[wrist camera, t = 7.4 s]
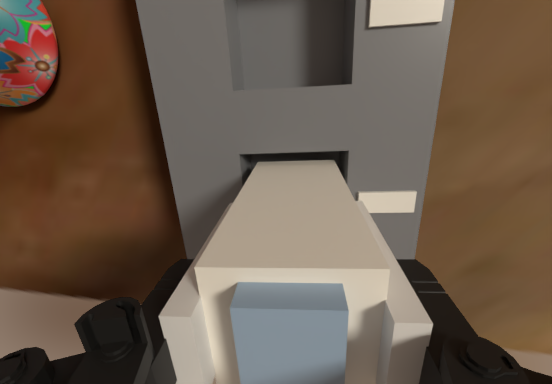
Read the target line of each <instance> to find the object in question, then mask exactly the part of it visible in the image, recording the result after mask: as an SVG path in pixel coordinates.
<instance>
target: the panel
mask: <svg viewBox="0 0 552 384" xmlns="http://www.w3.org/2000/svg"><path fill="white" fill-rule="evenodd" d="M454 1H455V0H136V5H137V10H138V15H139V20H140V25H141V30H142V35H143V40H144V45H145V50H146V55H147V60H148V65H149V70H150V75H151V80H152V85H153V90H154V95H155V100H156V105H157V110H158V115H159V120H160V125H161V130H162V135H163V140H164V145H165V150H166V155H167V160H168V165H169V170H170V175H171V180H172V185H173V190H174V195H175V200H176V205H177V210H178V215H179V220H180V225H181V230H182V235H183V240H184V245H185V250H186V255H187V259H195V257H196V256H197V254H198V253H199V251H200V250H201V248H202V246H203V245H204V243H205V242H206V240H207V238H208V237H209V235H210V234H211V232H212V231H213V229H214V227H215V226H216V224H217V223H218V221H219V219H220V218H221V216H222V215H223V213H224V212H225V210H226V208H227V207H228V205H229V204H230V203H233V202H234V201H235V199H236V197H237V196H238V194H239V192H240V191H241V189H242V187H243V186H244V184H245V182H246V181H247V179H248V177H249V176H250V174H251V172H252V171H253V169H254V167H255V166H256V164H257V162H274V161H308V160H334V161H335V163H336V165H337V166H338V168H339V170H340V172H341V174H342V176H343V178H344V180H345V182H346V184H347V186H348V188H349V190H350V192H351V194H352V196H353V198H354V200H355V201H363V203H364V205H365V207H366V208H367V210H368V212H369V214H370V215H371V217H372V219H373V220H374V222H375V224H376V226H377V227H378V229H379V231H380V233H381V234H382V236H383V238H384V240H385V241H386V243H387V245H388V246H389V248H390V250H391V252H392V253H393V255H394V257H395V259H414V258H415V252H416V245H417V239H418V233H419V226H420V220H421V213H422V207H423V200H424V194H425V188H426V181H427V175H428V168H429V162H430V156H431V149H432V143H433V136H434V130H435V123H436V117H437V111H438V104H439V98H440V91H441V85H442V78H443V72H444V66H445V59H446V53H447V46H448V40H449V33H450V27H451V21H452V14H453V8H454Z"/></svg>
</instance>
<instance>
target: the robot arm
mask: <svg viewBox="0 0 552 384" xmlns="http://www.w3.org/2000/svg"><path fill="white" fill-rule="evenodd" d="M356 203H357V205H358V207H359V209H360V211H361V213H362V215H363V217H364V219H365V221H366V223H367V225H368V227H369V229H370V231H371V233H372V234H373V236H374V238H375V240H376V242H377V244H378V246H379V248H380V250H381V252H382V254H383V256H384V258H385V260H386V262H387V264H388V266H389V268H390V276H389V284H388V293H387V300H385V307H384V315H383V324H382V332H381V341H380V349H379V358H378V366H377V375H376V384H552V377H551V376H548V375H544V374H541V373H537V372H534V371H531V370H528V369H526V368H523V367H521V366H520V365H519V364H518V363H517V361H516V360H515V359H514V358H513V357H512V356H511V355H510V354H508V353H507V352H506V351H505V350H504V349H502V348H501V347H500V346H498V345H496V344H494V343H492V342H490V341H489V340H487V339H485V338H481V337H478V335H477V334H476V333H475V331H474V330H473V328H472V327H471V326H470V324H469V323H468V322H467V320H466V319H465V318H464V316H463V315H462V313H461V312H460V311H459V309H458V308H457V307H456V305H455V304H454V303H453V301H452V300H451V298H450V297H449V296H448V294H446V293H445V290H444V289H443V288H442V286H441V285H440V284H438V281H437V279H436V278H435V277H434V275H433V274H432V272H431V271H430V270H429V269H428V268H427V267H425V266H424V265H422V264H421V263H420V262H418V261H417V260H415V259H395V257H394V255H393V253H392V252H391V250H390V248H389V246H388V245H387V243H386V241H385V240H384V238H383V236H382V234H381V233H380V231H379V229H378V227H377V226H376V224H375V222H374V220H373V219H372V217H371V215H370V214H369V212H368V210H367V208H366V207H365V205H364V203H363V201H356ZM232 204H233V203H230V204H229V205H228V207H227V208H226V210H225V212H224V213H223V215H222V216H221V218H220V219H219V221H218V223H217V224H216V226H215V227H214V229H213V231H212V232H211V234H210V235H209V237H208V238H207V240H206V242H205V243H204V245H203V246H202V248H201V250H200V251H199V253H198V254H197V256H196V257H195V259H181V260H179V261H178V262H176V263H175V264H174V265H172V266H171V267H170V268H169V269H168V270H167V271H166V273H165V274H164V275H163V277H162V278H161V281H159V282H158V283H157V285H156V286H155V287H154V290H152V291H151V293H150V294H149V295H148V297H147V298H146V300H145V301H144V302H143V304H142V305H140V303H139V301H138V300H136V299H133V298H131V297H120V298H115V299H111V300H108V301H105V302H103V303H101V304H99V305H97V306H95V307H93V308H92V309H90V310H89V311H87V312H86V313H85V314H83V315H82V316H81V317H80V318H79V319H78V321H77V322H76V323H75V327H76V329H77V332H78V334H79V337H80V339H81V342H82V344H83V346H84V349H85V351H86V352H85V353H82V354H78V355H74V356H70V357H65V358H62V359H57V360H53V361H49V359H48V357H47V355H46V353H45V351H44V350H43V349H41V348H37V347H33V348H24V349H21V350H19V351H16V352H13V353H10V354H8V355H6V356H4V357H3V358H1V359H0V384H175V383H176V384H212V383H213V380H214V376H215V369H214V363H213V358H212V353H211V348H210V342H209V337H208V332H207V326H206V321H205V316H204V310H203V305H202V300H201V296H200V295H199V290H198V284H197V279H196V274H195V269H194V267H195V265H196V264H197V262H198V260H199V259H200V257H201V255H202V254H203V252H204V250H205V249H206V247H207V245H208V244H209V242H210V240H211V239H212V237H213V235H214V234H215V232H216V230H217V229H218V227H219V225H220V224H221V222H222V221H223V219H224V217H225V216H226V214H227V212H228V211H229V209H230V207H231V206H232Z"/></svg>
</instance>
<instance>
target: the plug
mask: <svg viewBox="0 0 552 384" xmlns="http://www.w3.org/2000/svg"><path fill="white" fill-rule="evenodd" d="M194 269H195V274H196V279H197V284H198V290H199V295H200V296H201V300H202V305H203V310H204V316H205V321H206V326H207V332H208V337H209V342H210V348H211V353H212V358H213V363H214V369H215V379H216V384H376V375H377V366H378V358H379V349H380V341H381V332H382V324H383V315H384V307H385V300H387V293H388V284H389V276H390V268H389V266H388V264H387V262H386V260H385V258H384V256H383V254H382V252H381V250H380V248H379V246H378V244H377V242H376V240H375V238H374V236H373V234H372V233H371V231H370V229H369V227H368V225H367V223H366V221H365V219H364V217H363V215H362V213H361V211H360V209H359V207H358V205H357V203H356V201H355V200H354V198H353V196H352V194H351V192H350V190H349V188H348V186H347V184H346V182H345V180H344V178H343V176H342V174H341V172H340V170H339V168H338V166H337V165H336V163H335V161H334V160H308V161H274V162H257V164H256V166H255V167H254V169H253V171H252V172H251V174H250V176H249V177H248V179H247V181H246V182H245V184H244V186H243V187H242V189H241V191H240V192H239V194H238V196H237V197H236V199H235V201H234V202H233V204H232V206H231V207H230V209H229V211H228V212H227V214H226V216H225V217H224V219H223V221H222V222H221V224H220V225H219V227H218V229H217V230H216V232H215V234H214V235H213V237H212V239H211V240H210V242H209V244H208V245H207V247H206V249H205V250H204V252H203V254H202V255H201V257H200V259H199V260H198V262H197V264H196V265H195V267H194Z"/></svg>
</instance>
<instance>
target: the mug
mask: <svg viewBox="0 0 552 384" xmlns="http://www.w3.org/2000/svg"><path fill="white" fill-rule="evenodd" d="M57 67H58V44H57V39H56V34H55V30H54V27H53V24H52V21H51V19H50V17H49V14H48V12H47V10H46V8H45V6H44V5H43V3H42V1H41V0H0V106H6V107H18V106H24V105H27V104H30V103H32V102H35V101H36V100H38V99H40V98H41V97H42V96H43V95H44V94H45V93H46V92H47V91H48V89H49V88H50V86H51V85H52V83H53V81H54V78H55V75H56V72H57Z"/></svg>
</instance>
